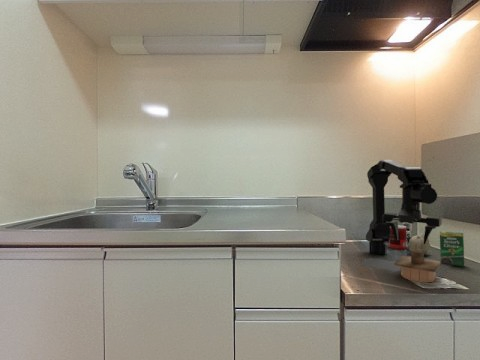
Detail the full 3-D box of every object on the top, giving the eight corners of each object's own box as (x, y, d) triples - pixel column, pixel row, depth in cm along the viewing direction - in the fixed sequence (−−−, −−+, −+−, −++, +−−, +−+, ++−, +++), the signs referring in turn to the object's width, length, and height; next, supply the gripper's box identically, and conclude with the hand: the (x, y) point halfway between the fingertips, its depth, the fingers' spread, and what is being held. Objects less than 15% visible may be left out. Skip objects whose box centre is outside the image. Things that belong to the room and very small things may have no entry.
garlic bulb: (427, 253, 139) (427, 231, 139) (435, 257, 131) (434, 235, 131) (405, 252, 141) (405, 231, 141) (411, 256, 133) (410, 234, 133)
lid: (394, 265, 104) (394, 251, 104) (402, 257, 114) (402, 245, 113) (434, 272, 97) (434, 257, 97) (440, 263, 106) (440, 250, 106)
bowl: (398, 279, 105) (398, 265, 105) (405, 272, 112) (405, 258, 112) (432, 285, 98) (431, 270, 98) (437, 277, 106) (436, 263, 106)
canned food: (404, 246, 152) (404, 225, 152) (408, 250, 144) (407, 227, 144) (388, 245, 154) (388, 224, 154) (390, 249, 147) (390, 227, 147)
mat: (358, 266, 120) (358, 265, 120) (370, 259, 130) (370, 257, 130) (396, 273, 111) (396, 272, 110) (406, 265, 121) (406, 263, 121)
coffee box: (439, 263, 122) (439, 231, 122) (440, 262, 124) (440, 230, 124) (464, 267, 117) (463, 234, 117) (464, 265, 119) (464, 232, 119)
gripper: (377, 201, 112) (377, 242, 112) (436, 204, 99) (436, 251, 100) (386, 198, 120) (386, 237, 121) (442, 201, 108) (441, 244, 108)
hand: (410, 242), depth 112 cm, fingers open, 9 cm apart
